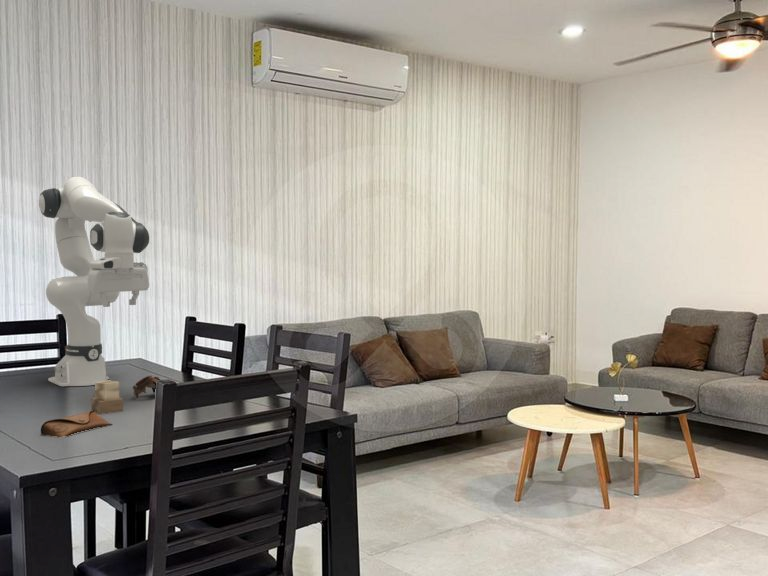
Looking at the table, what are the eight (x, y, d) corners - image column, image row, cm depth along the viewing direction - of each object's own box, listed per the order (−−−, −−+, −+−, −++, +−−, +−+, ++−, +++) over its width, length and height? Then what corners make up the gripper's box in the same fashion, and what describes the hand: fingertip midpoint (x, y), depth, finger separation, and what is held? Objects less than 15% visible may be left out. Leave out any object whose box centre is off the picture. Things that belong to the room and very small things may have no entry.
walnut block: (91, 411, 234) (91, 398, 234) (113, 407, 239) (113, 395, 239) (100, 415, 229) (100, 401, 229) (123, 411, 234) (123, 398, 233)
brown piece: (163, 401, 249) (149, 381, 247) (139, 413, 251) (125, 393, 249) (173, 385, 261) (160, 366, 259) (150, 397, 262) (137, 377, 260)
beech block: (95, 398, 233) (95, 382, 233) (109, 396, 237) (109, 380, 237) (104, 400, 230) (104, 384, 230) (119, 398, 235) (119, 381, 234)
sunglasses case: (62, 438, 200) (53, 415, 202) (46, 448, 203) (37, 426, 205) (114, 424, 217) (105, 402, 218) (99, 434, 219) (90, 413, 221)
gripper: (141, 262, 254) (141, 303, 255) (84, 263, 238) (85, 307, 239) (152, 262, 250) (153, 304, 251) (96, 263, 234) (96, 308, 235)
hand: (119, 305), depth 245 cm, fingers open, 8 cm apart
